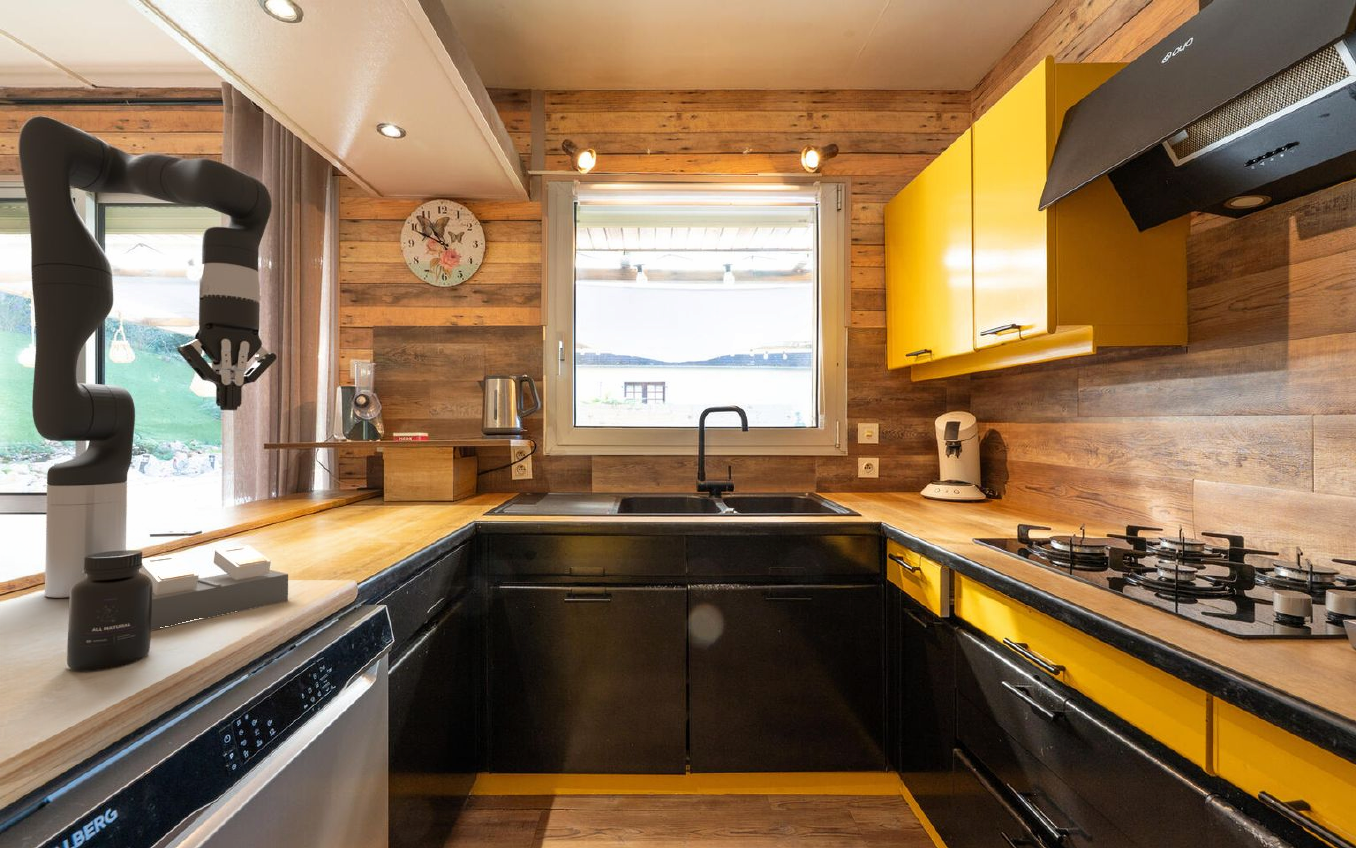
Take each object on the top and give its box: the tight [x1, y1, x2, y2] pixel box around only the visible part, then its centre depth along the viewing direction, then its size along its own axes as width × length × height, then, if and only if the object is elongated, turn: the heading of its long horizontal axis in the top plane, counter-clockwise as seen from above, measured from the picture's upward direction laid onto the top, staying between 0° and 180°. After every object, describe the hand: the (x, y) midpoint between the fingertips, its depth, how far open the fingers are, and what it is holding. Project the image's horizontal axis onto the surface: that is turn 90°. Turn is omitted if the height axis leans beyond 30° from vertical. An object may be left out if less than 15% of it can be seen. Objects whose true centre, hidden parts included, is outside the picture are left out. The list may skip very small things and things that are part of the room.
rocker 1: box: [140, 553, 200, 596], centre depth 82 cm, size 7×4×2 cm, turn 59°
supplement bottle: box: [66, 549, 153, 672], centre depth 68 cm, size 7×7×12 cm
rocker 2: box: [213, 544, 271, 580], centre depth 90 cm, size 7×4×2 cm, turn 59°
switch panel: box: [151, 569, 289, 631], centre depth 86 cm, size 8×18×4 cm, turn 149°
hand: (228, 410), depth 93 cm, fingers closed
